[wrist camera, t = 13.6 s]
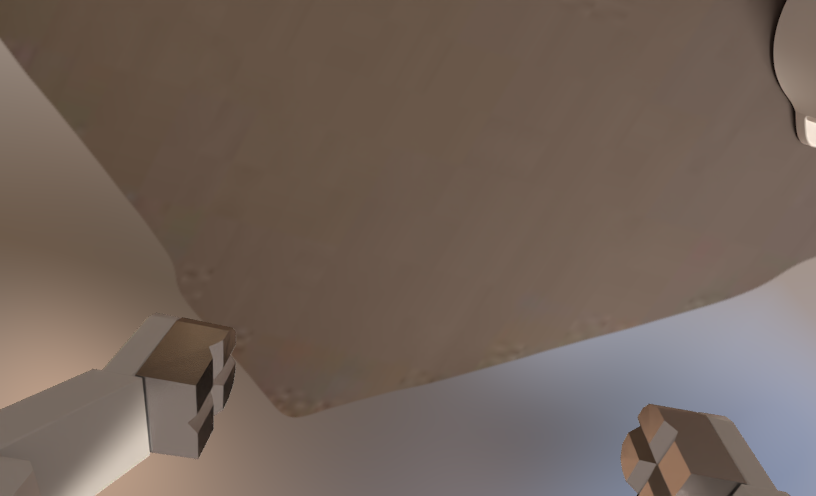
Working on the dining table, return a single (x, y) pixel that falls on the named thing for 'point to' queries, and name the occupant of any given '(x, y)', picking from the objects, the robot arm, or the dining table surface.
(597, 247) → the dining table surface
